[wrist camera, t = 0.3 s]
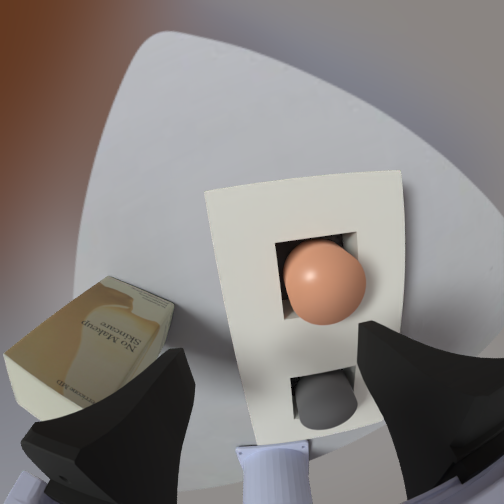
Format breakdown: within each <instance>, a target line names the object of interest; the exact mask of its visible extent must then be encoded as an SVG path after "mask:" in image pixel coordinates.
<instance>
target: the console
mask: <svg viewBox="0 0 504 504" xmlns="http://www.w3.org/2000/svg"><path fill="white" fill-rule="evenodd" d="M204 194H205V200H206V206H207V212H208V218H209V224H210V230H211V235H212V241H213V247H214V252H215V258H216V263H217V268H218V273H219V279H220V284H221V289H222V294H223V299H224V304H225V309H226V314H227V318H228V323H229V328H230V333H231V337H232V342H233V346H234V351H235V355H236V360H237V364H238V369H239V373H240V377H241V381H242V386H243V390H244V394H245V398H246V402H247V406H248V410H249V414H250V418H251V422H252V426H253V430H254V434H255V438H256V441H257V445H269V444H278V443H286V442H293V441H300V440H306V439H311V438H317V437H322V436H327V435H332V434H336V433H340V432H345V431H349V430H353V429H356V428H360V427H364V426H367V425H371V424H374V423H377V422H380V421H383V416H382V414H381V412H380V410H379V408H378V407H377V405H376V403H375V401H374V399H373V397H372V396H371V394H370V392H369V390H368V388H367V386H366V384H365V383H364V381H363V378H362V375H361V373H360V370H359V367H358V365H357V347H358V323H362V322H366V321H370V320H373V321H375V322H377V323H380V324H382V325H384V326H386V327H388V328H390V329H392V330H394V331H396V332H398V333H400V327H401V318H402V307H403V294H404V276H405V219H404V201H403V188H402V177H401V170H389V171H370V172H355V173H342V174H330V175H319V176H310V177H300V178H292V179H283V180H275V181H268V182H260V183H253V184H246V185H240V186H233V187H227V188H221V189H215V190H209V191H204ZM335 234H342V238H343V249H344V250H345V251H347V252H348V253H349V254H351V255H352V256H353V257H355V258H356V259H357V260H358V261H359V263H360V264H361V266H362V268H363V270H364V272H365V277H366V289H365V294H364V297H363V299H362V301H361V303H360V305H359V306H358V308H357V309H356V310H355V311H354V312H353V313H352V314H351V315H350V316H349V317H347V318H346V319H344V320H342V321H340V322H338V323H335V324H331V325H315V324H311V323H309V322H306V321H305V320H303V319H302V318H300V317H299V316H298V315H297V314H296V312H295V311H294V310H293V308H292V306H291V303H290V300H289V299H287V300H282V298H281V289H280V281H279V273H278V265H277V257H276V249H275V243H277V242H285V241H292V240H299V239H306V238H313V237H320V236H328V235H335ZM342 368H344V373H345V374H346V377H347V379H348V381H349V383H350V386H351V388H352V390H353V392H354V395H355V397H356V399H357V403H358V406H357V409H356V411H355V413H354V414H353V416H352V417H351V418H350V419H349V420H347V421H346V422H344V423H343V424H341V425H339V426H337V427H334V428H331V429H326V430H313V429H309V428H306V427H305V426H303V425H302V423H301V422H300V419H299V413H298V408H297V402H296V397H295V396H292V393H291V382H290V378H294V377H300V376H306V375H312V374H317V373H323V372H328V371H333V370H337V369H342Z"/></svg>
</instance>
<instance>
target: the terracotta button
mask: <svg viewBox="0 0 504 504" xmlns="http://www.w3.org/2000/svg"><path fill="white" fill-rule="evenodd" d="M283 280H284V284H285V287H286V290H287V293H288V297H289V300H290V303H291V306H292V308H293V310H294V311H295V312H296V314H297V315H298V316H299V317H300V318H302V319H303V320H305V321H306V322H309V323H311V324H315V325H331V324H335V323H338V322H340V321H342V320H344V319H346V318H347V317H349V316H350V315H351V314H352V313H353V312H354V311H355V310H356V309H357V308H358V306H359V305H360V303H361V301H362V299H363V297H364V294H365V289H366V277H365V272H364V270H363V268H362V266H361V264H360V263H359V261H358V260H357V259H356V258H355V257H353V256H352V255H351V254H349V253H348V252H347V251H345V250H344V249H343V248H341V247H340V246H339V245H337V244H336V243H335V242H333V241H330V240H328V239H323V238H315V239H309V240H307V241H304V242H302V243H300V244H299V245H297V246H296V247H295V248H294V249H293V250H292V251H291V252H290V254H289V255H288V257H287V259H286V261H285V263H284V267H283Z"/></svg>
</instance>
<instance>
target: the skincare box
mask: <svg viewBox="0 0 504 504" xmlns="http://www.w3.org/2000/svg"><path fill="white" fill-rule="evenodd" d="M173 311H174V304H173V303H171V302H169V301H166V300H164V299H162V298H160V297H157V296H155V295H153V294H150V293H148V292H146V291H143V290H141V289H139V288H136V287H134V286H132V285H129V284H127V283H124V282H122V281H119V280H117V279H114V278H112V277H110V276H107V277H105V278H104V279H103V280H101V281H100V282H98V283H97V284H95V285H94V286H93V287H91V288H90V289H88V290H87V291H85V292H84V293H83V294H81V295H80V296H78V297H77V298H75V299H74V300H73V301H71V302H70V303H68V304H67V305H66V306H64V307H63V308H62V309H60V310H59V311H58V312H56V313H55V314H54V315H52V316H51V317H50V318H48V319H47V320H46V321H44V322H43V323H42V324H40V325H39V326H38V327H36V328H35V329H34V330H33V331H31V332H30V333H29V334H27V335H26V336H25V337H24V338H22V339H21V340H20V341H19V342H17V343H16V344H15V345H14V346H12V347H11V348H10V349H9V350H8V351H6V352H5V353H4V354H3V355H4V360H5V364H6V368H7V372H8V376H9V379H10V383H11V386H12V389H13V392H14V395H15V399H16V401H17V403H18V404H19V405H20V406H22V407H23V408H24V409H26V410H27V411H28V412H29V413H31V414H32V415H34V416H35V417H36V418H38V419H39V420H41V421H46V420H50V419H55V418H59V417H62V416H65V415H68V414H71V413H74V412H77V411H79V410H82V409H84V408H86V407H88V406H90V405H93V404H95V403H97V402H99V401H101V400H103V399H104V398H106V397H108V396H109V395H111V394H113V393H114V392H116V391H117V390H119V389H120V388H122V387H123V386H124V385H126V384H127V383H128V382H130V381H131V380H132V379H134V378H135V377H136V376H137V375H139V374H140V373H141V372H142V371H144V370H145V369H146V368H147V367H148V366H149V365H151V364H152V363H153V362H154V361H155V360H156V359H157V357H158V355H159V354H160V352H161V350H162V348H163V346H164V344H165V341H166V338H167V334H168V331H169V327H170V324H171V320H172V315H173Z"/></svg>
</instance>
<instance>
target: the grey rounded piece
mask: <svg viewBox="0 0 504 504" xmlns="http://www.w3.org/2000/svg"><path fill="white" fill-rule="evenodd" d="M295 397H296V402H297V408H298V413H299V419H300V422H301V423H302V425H303V426H305V427H306V428H309V429H313V430H326V429H331V428H334V427H337V426H339V425H341V424H343V423H344V422H346V421H347V420H349V419H350V418H351V417H352V416H353V414H354V413H355V411H356V409H357V406H358V403H357V399H356V397H355V395H354V392H353V390H352V388H351V386H350V383H349V381H348V379H347V377H346V374H345V373H344V372H343V371H342V370H340V369H337V370H333V371H328V372H323V373H317V374H312V375H306V376H302V377H301V378H300V379H299V380H298V382H297V383H296V386H295Z"/></svg>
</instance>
